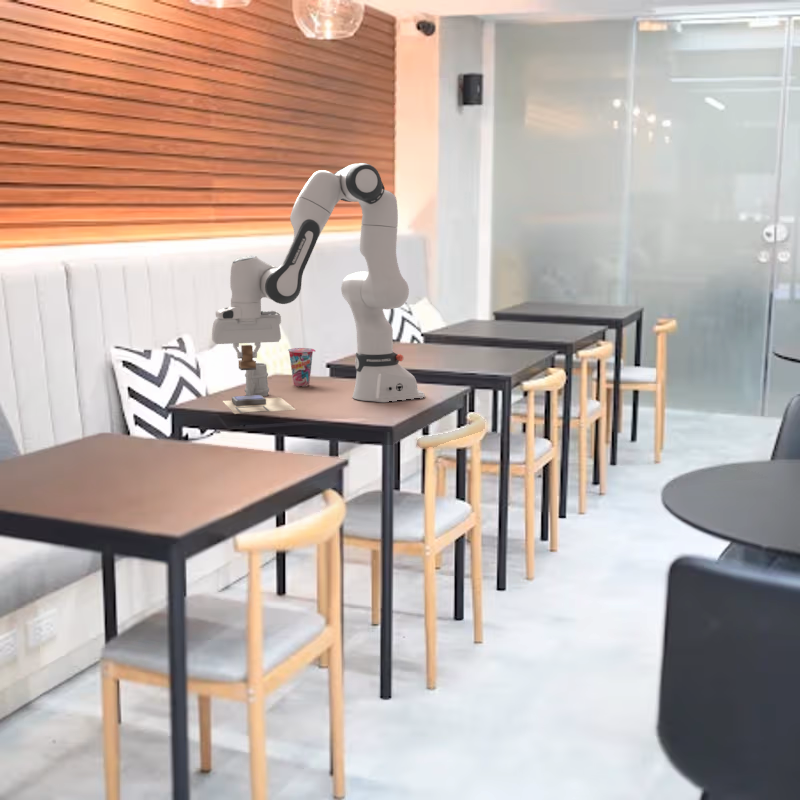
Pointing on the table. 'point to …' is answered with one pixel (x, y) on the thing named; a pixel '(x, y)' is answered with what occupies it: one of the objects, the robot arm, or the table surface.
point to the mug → (257, 381)
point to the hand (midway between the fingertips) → (247, 357)
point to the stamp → (247, 358)
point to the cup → (301, 365)
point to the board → (257, 404)
